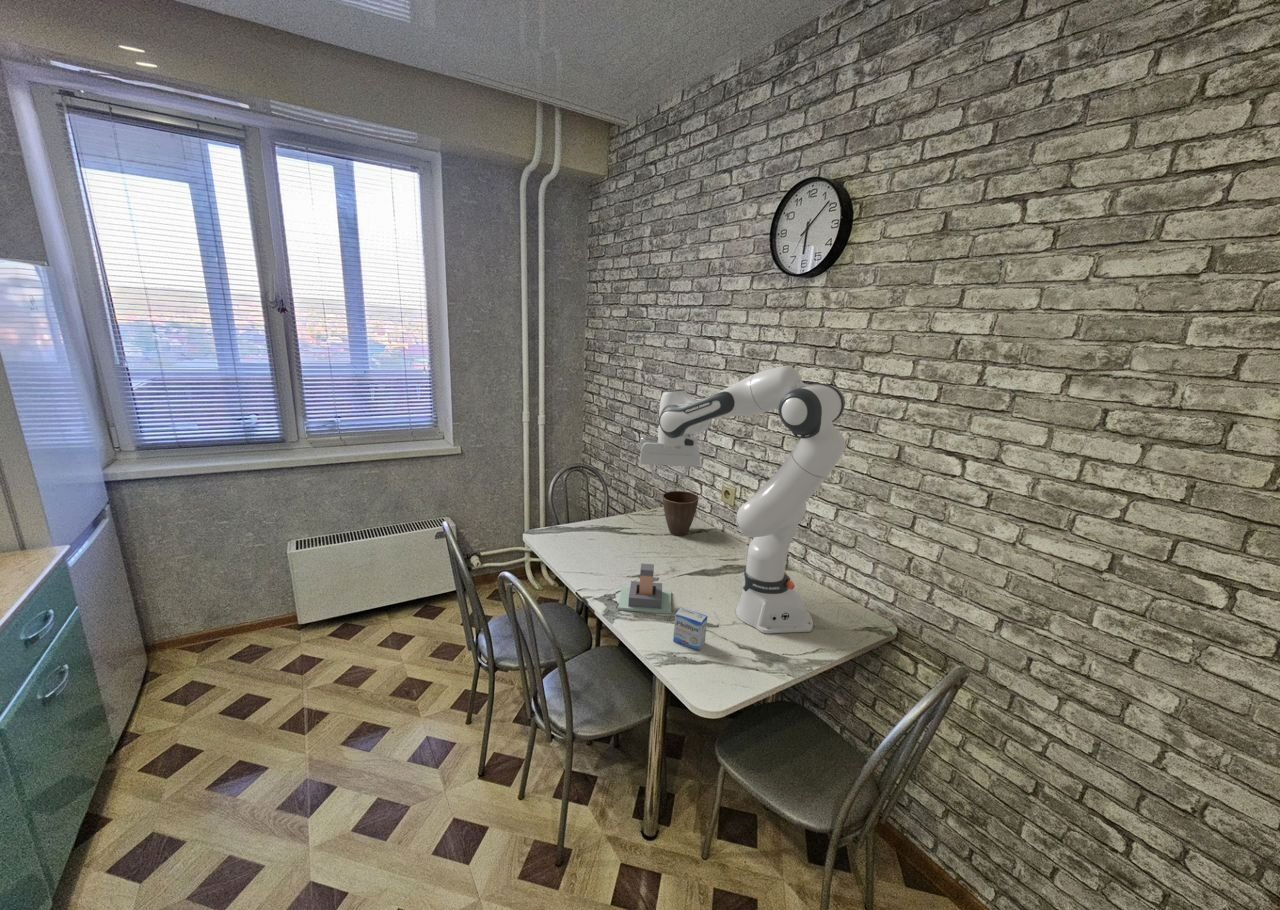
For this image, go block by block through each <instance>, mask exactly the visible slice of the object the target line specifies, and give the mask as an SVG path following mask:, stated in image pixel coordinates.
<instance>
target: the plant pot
mask: <svg viewBox="0 0 1280 910" xmlns="http://www.w3.org/2000/svg"><path fill="white" fill-rule="evenodd" d="M662 504H663V505H662V506H663V512H664V516H665V521H666V524H667V528H668V531H669V533H670V534H671V535H673V536H677V537H683V536H686V535H688V532H689V531H690V529H691V526H692V524H693V521H694V518H695V516H696V511H697V508H698V504H699V496H698V495H697V494H695V493H693V492H688V491H684V490H683V491H682V490H674V491H672V490H671V491H668V492H664V493H663V494H662Z"/></svg>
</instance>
